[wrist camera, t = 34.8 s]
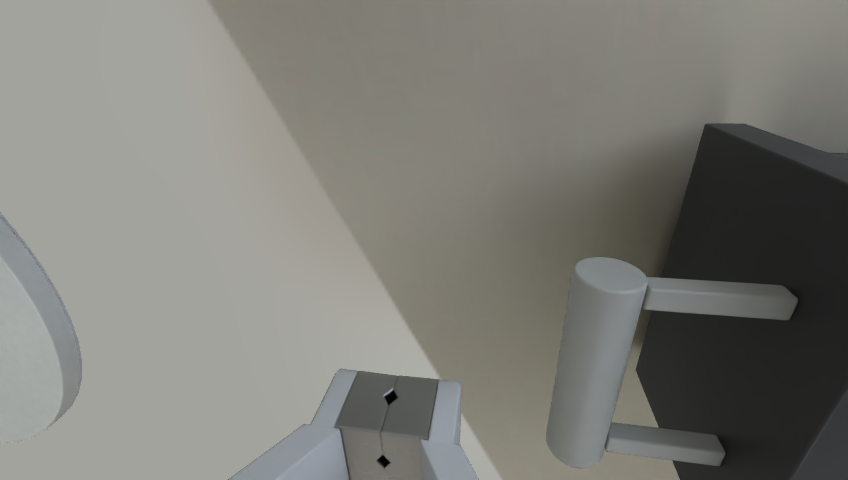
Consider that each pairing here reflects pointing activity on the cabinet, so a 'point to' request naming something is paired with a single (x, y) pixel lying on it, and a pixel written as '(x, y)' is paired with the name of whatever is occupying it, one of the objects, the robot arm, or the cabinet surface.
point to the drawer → (723, 324)
